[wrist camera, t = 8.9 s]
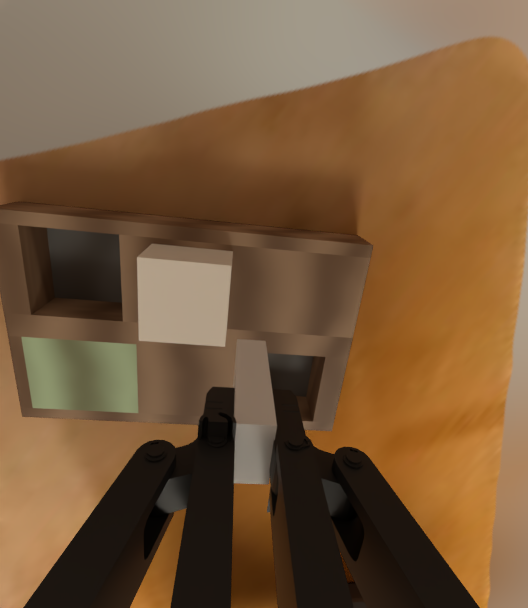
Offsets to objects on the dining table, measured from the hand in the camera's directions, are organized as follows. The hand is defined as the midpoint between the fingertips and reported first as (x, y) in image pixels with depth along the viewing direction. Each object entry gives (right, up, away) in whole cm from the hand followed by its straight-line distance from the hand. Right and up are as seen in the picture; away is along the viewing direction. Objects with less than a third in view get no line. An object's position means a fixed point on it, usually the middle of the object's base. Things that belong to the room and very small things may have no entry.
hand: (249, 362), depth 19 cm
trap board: (-6, +2, +14) cm, 15 cm away
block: (-5, +5, +9) cm, 11 cm away
